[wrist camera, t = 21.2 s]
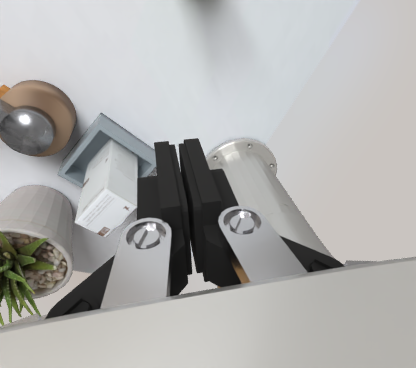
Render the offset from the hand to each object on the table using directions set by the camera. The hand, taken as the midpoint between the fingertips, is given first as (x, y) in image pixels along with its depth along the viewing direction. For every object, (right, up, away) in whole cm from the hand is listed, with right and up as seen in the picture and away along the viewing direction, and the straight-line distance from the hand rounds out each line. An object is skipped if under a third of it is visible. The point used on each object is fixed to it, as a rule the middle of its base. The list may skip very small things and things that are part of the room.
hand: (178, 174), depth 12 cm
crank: (-21, +8, +21) cm, 30 cm away
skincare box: (-12, +3, +30) cm, 33 cm away
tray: (-13, +4, +31) cm, 33 cm away
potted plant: (-24, -3, +33) cm, 41 cm away
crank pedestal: (-20, +8, +26) cm, 33 cm away
